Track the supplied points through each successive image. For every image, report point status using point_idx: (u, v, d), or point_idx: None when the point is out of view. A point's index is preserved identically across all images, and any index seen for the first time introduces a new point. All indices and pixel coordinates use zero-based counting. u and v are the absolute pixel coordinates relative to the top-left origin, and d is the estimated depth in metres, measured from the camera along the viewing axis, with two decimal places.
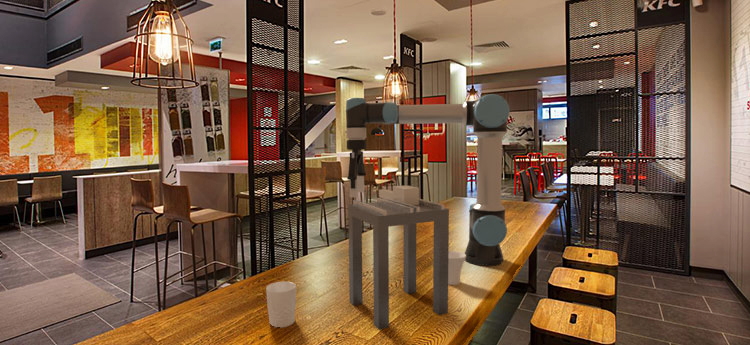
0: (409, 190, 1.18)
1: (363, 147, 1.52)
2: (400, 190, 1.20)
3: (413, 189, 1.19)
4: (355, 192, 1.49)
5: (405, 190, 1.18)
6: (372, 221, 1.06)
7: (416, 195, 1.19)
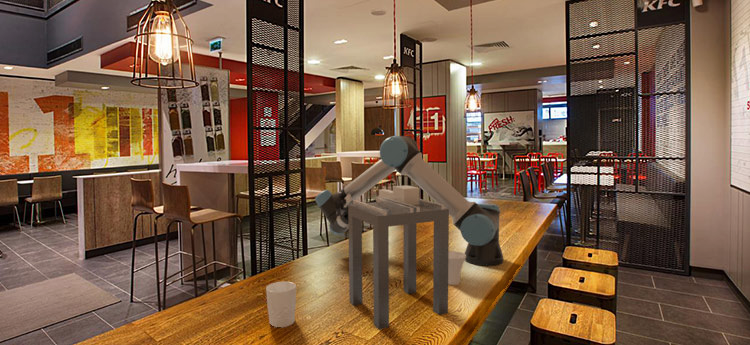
0: (409, 190, 1.18)
1: None
2: (400, 190, 1.20)
3: (413, 189, 1.19)
4: (346, 197, 1.45)
5: (405, 190, 1.18)
6: (372, 221, 1.06)
7: (416, 195, 1.19)
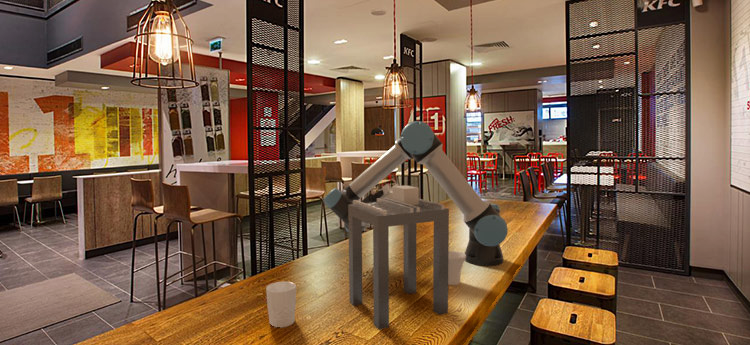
0: (409, 190, 1.18)
1: None
2: (399, 190, 1.20)
3: (413, 188, 1.19)
4: (384, 187, 1.29)
5: (405, 190, 1.18)
6: (372, 221, 1.06)
7: (416, 195, 1.19)
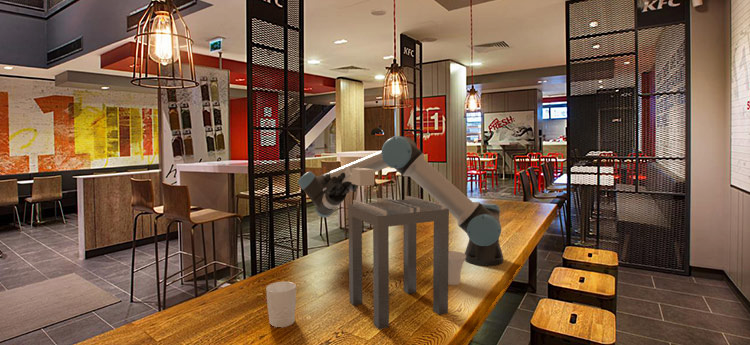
0: (364, 171, 1.28)
1: None
2: (356, 171, 1.29)
3: (369, 170, 1.28)
4: (346, 170, 1.39)
5: (361, 171, 1.27)
6: (372, 221, 1.06)
7: (371, 176, 1.29)
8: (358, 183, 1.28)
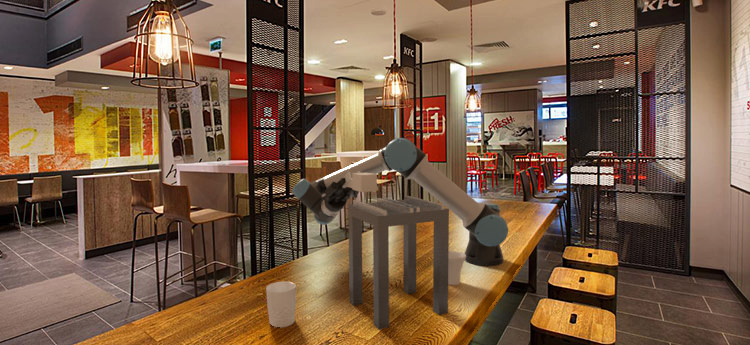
0: (366, 176, 1.19)
1: None
2: (358, 176, 1.20)
3: (371, 175, 1.19)
4: (346, 175, 1.30)
5: (362, 176, 1.18)
6: (372, 221, 1.06)
7: (374, 181, 1.20)
8: (359, 189, 1.19)
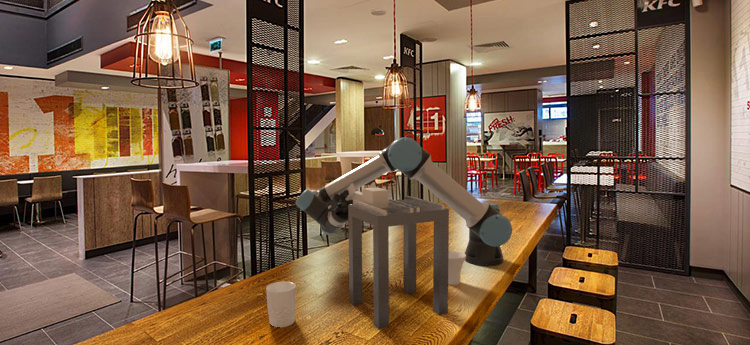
0: (378, 192, 1.14)
1: None
2: (368, 192, 1.15)
3: (382, 191, 1.14)
4: (349, 187, 1.25)
5: (373, 192, 1.13)
6: (372, 221, 1.06)
7: (385, 198, 1.15)
8: None
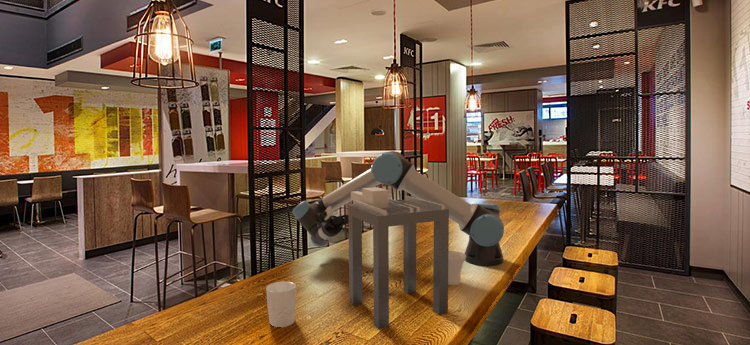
0: (378, 192, 1.14)
1: None
2: (368, 192, 1.15)
3: (382, 191, 1.14)
4: (327, 209, 1.36)
5: (373, 192, 1.13)
6: (372, 221, 1.06)
7: (385, 198, 1.15)
8: None
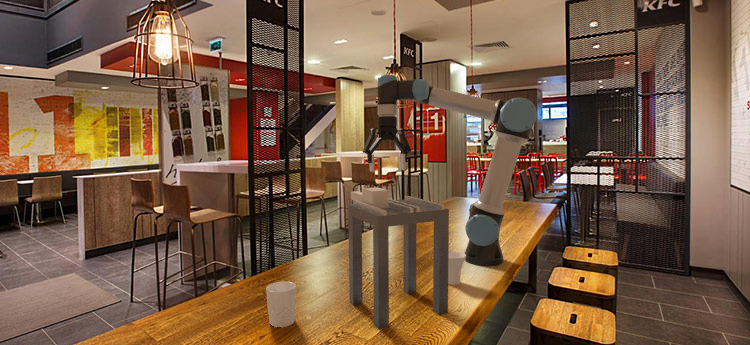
0: (378, 192, 1.14)
1: (386, 123, 1.53)
2: (368, 192, 1.15)
3: (382, 191, 1.14)
4: (371, 167, 1.55)
5: (373, 192, 1.13)
6: (372, 221, 1.06)
7: (385, 198, 1.15)
8: None
